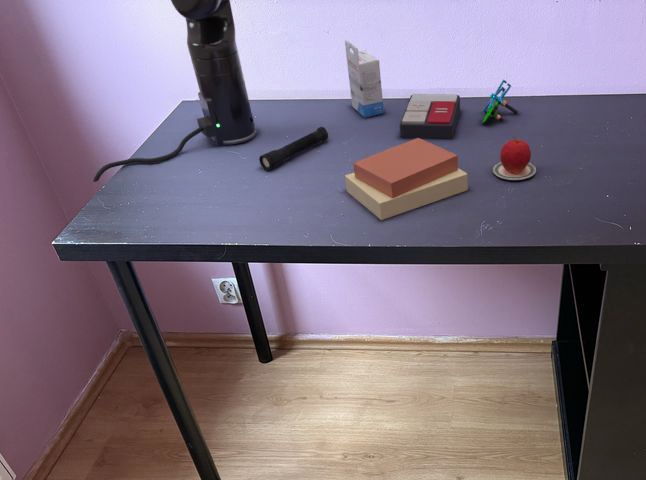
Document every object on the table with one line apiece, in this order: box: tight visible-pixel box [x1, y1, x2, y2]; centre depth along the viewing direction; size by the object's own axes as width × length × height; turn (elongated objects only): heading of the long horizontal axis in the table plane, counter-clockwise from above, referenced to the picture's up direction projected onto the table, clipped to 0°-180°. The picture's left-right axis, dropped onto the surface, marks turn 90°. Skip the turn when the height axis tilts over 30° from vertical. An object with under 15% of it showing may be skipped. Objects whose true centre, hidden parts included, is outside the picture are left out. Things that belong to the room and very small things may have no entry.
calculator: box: [399, 93, 461, 140], centre depth 141 cm, size 11×4×15 cm
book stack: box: [344, 138, 469, 221], centre depth 118 cm, size 18×13×6 cm
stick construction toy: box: [482, 79, 519, 124], centre depth 143 cm, size 12×7×8 cm
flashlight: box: [258, 126, 329, 171], centre depth 133 cm, size 3×16×3 cm, turn 143°
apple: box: [492, 136, 537, 181], centre depth 122 cm, size 8×8×6 cm
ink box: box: [344, 38, 385, 119], centre depth 146 cm, size 8×5×15 cm, turn 26°
